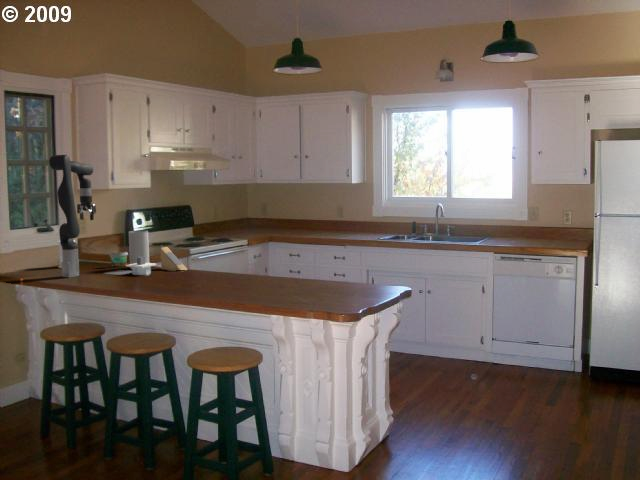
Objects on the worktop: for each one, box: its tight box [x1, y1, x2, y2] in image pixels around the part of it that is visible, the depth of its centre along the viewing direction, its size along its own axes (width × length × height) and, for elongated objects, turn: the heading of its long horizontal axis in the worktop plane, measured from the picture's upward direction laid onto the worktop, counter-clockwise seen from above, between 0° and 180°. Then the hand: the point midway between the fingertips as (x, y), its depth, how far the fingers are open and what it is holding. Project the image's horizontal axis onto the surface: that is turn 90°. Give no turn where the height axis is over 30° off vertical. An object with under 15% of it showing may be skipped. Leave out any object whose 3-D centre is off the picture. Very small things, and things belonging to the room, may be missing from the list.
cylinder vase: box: [128, 230, 150, 270], centre depth 452 cm, size 12×12×25 cm
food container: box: [108, 251, 129, 268], centre depth 462 cm, size 12×6×10 cm, turn 105°
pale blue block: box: [131, 266, 152, 277], centre depth 429 cm, size 11×11×6 cm
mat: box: [102, 269, 132, 276], centre depth 436 cm, size 16×16×1 cm
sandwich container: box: [160, 246, 189, 272], centre depth 447 cm, size 9×15×15 cm, turn 72°
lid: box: [125, 257, 157, 268], centre depth 429 cm, size 13×13×6 cm
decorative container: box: [57, 239, 76, 269], centre depth 465 cm, size 12×12×18 cm
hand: (87, 219), depth 448 cm, fingers open, 8 cm apart
